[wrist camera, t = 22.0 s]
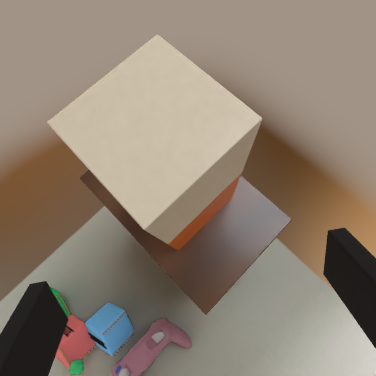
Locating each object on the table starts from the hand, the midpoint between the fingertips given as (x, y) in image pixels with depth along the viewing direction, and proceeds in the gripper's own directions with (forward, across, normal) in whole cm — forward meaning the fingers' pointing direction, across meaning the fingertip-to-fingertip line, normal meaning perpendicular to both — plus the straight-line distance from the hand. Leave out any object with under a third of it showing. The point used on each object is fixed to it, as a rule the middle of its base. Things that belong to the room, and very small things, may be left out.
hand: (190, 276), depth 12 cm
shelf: (+24, 0, +16) cm, 29 cm away
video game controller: (+13, +8, +27) cm, 31 cm away
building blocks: (+18, +18, +22) cm, 33 cm away
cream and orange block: (+8, 0, 0) cm, 8 cm away
